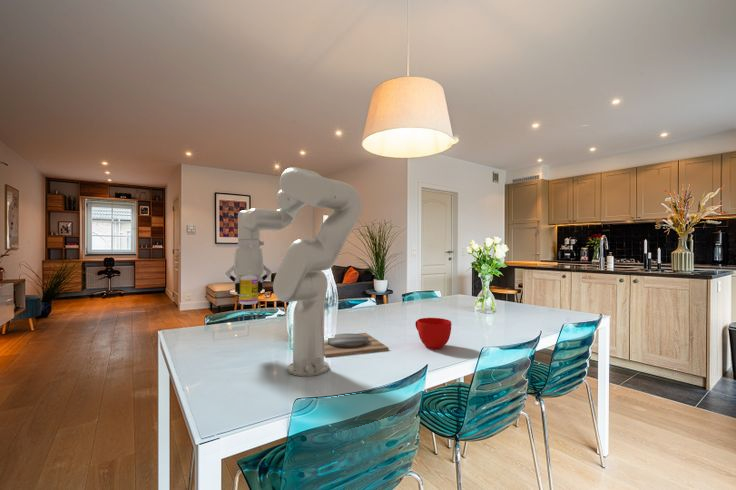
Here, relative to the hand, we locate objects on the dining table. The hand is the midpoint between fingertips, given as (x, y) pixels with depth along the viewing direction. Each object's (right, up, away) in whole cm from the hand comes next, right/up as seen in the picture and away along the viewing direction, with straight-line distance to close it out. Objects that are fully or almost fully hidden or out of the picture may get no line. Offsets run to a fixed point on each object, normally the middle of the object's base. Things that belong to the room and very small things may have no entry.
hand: (248, 293), depth 127 cm
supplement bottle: (0, -4, 0) cm, 4 cm away
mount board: (+36, -22, +10) cm, 43 cm away
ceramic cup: (+68, -22, +9) cm, 72 cm away
